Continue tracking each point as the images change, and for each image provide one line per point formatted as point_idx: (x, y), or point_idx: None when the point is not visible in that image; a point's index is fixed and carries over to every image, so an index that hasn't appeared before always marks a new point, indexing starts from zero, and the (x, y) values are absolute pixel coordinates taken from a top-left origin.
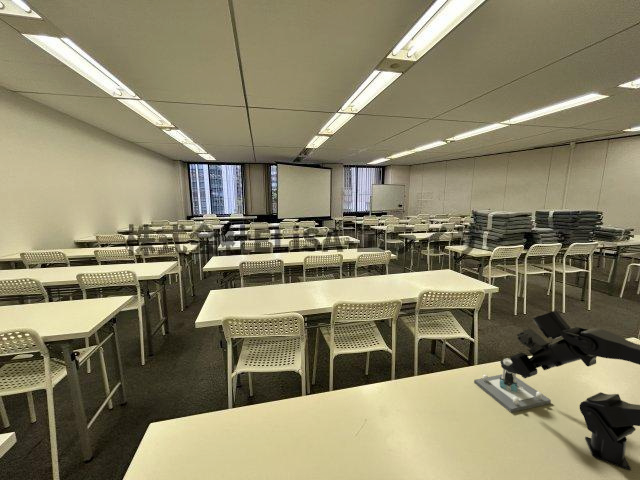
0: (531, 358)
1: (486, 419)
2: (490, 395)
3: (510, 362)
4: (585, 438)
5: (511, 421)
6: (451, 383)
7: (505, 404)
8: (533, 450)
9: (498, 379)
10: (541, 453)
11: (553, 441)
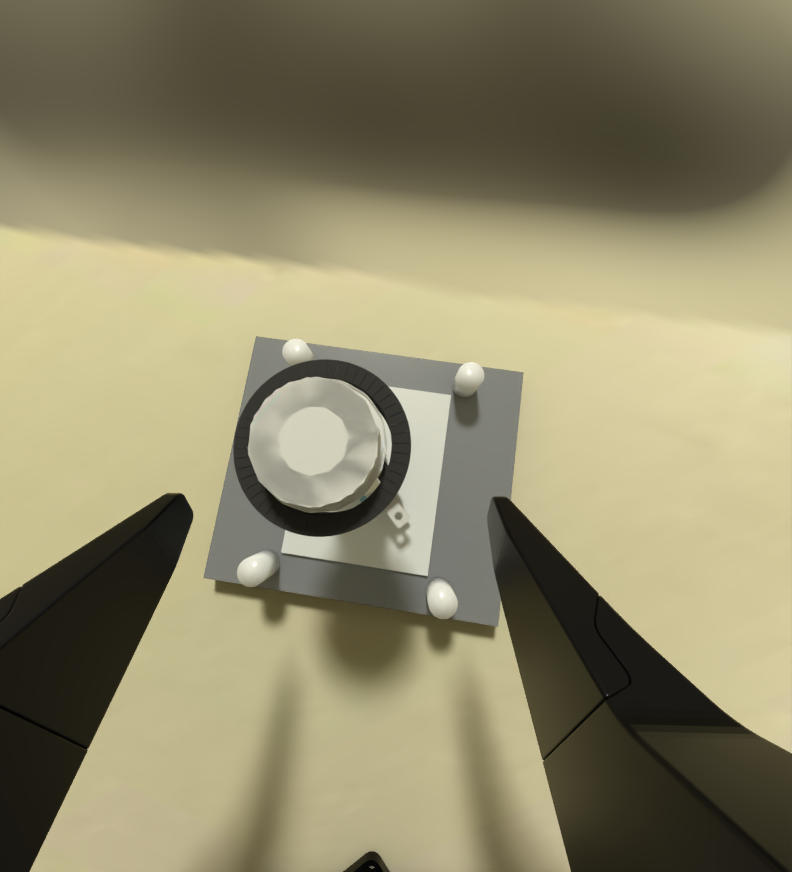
0: (535, 596)
1: (60, 551)
2: None
3: (285, 459)
4: (361, 863)
5: (157, 612)
6: (148, 303)
7: (213, 541)
8: None
9: None
10: (77, 797)
11: (207, 782)
